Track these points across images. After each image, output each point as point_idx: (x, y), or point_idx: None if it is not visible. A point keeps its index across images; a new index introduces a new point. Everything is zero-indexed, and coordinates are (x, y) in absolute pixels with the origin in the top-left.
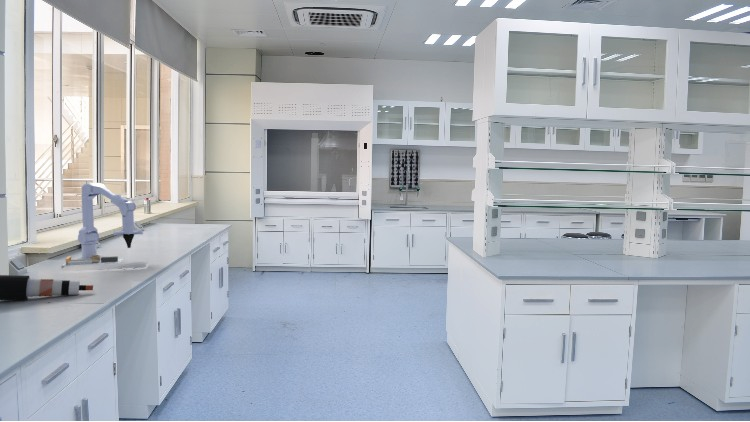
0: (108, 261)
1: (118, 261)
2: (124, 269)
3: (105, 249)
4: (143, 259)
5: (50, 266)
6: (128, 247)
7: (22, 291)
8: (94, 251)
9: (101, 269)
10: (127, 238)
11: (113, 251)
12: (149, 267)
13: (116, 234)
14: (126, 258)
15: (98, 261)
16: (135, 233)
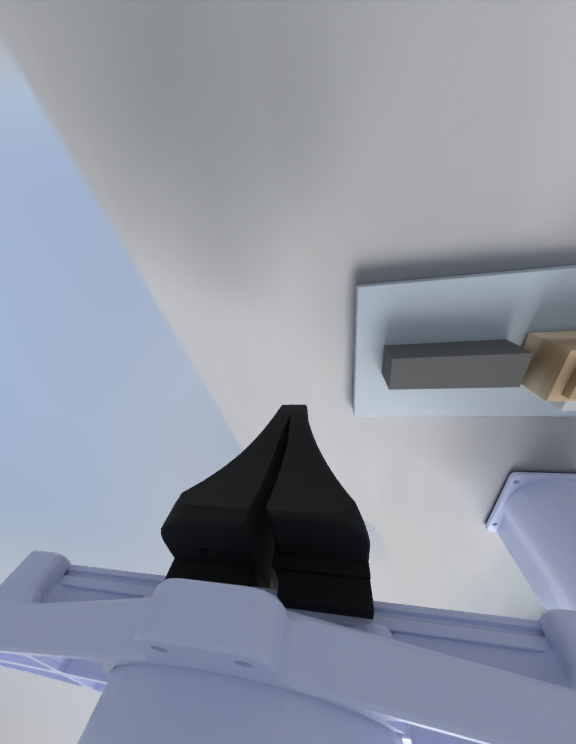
0: (449, 342)
1: (375, 340)
2: (282, 12)
3: None
4: (251, 427)
5: None
6: (295, 406)
7: None
8: (551, 532)
9: (524, 49)
10: (281, 481)
11: (414, 589)
12: (97, 118)
13: (539, 642)
14: (344, 468)
15: (534, 333)
16: (135, 598)
